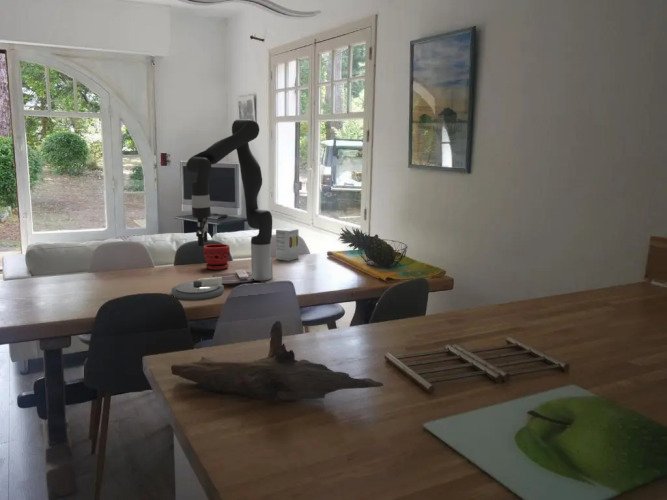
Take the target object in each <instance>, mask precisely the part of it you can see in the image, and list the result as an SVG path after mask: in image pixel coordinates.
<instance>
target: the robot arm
mask: <svg viewBox="0 0 667 500" xmlns="http://www.w3.org/2000/svg"><path fill="white" fill-rule="evenodd" d="M231 133H232V134H231V135H230V136H226V137H224V138H222V139H220V140H218V141H216V142H214V143H213V144H212V145H210V146H209V147H208V148H206V149H205V150H203V151H200V152H198V153H196V154H194V155H192V156H191V157H190V158H189V159H188V160H187V161H186V166H185V168H186V170H187V172H188V173H189V174H191V175H197V177H196V180H193V181H192V182H191V184H190V187H191V188H190V189H191V212H192V213H191V215H192V218H193V219H197V221H195V233H196V234H195V236H196V237H197V244H198V247H204V246H205V243H208V233H209V222H208V220H209V219H208V218H210V217H211V215H212V214H211V211H212V210H211V198H210V188H209V184H210V180H211V176H212V170H213V169H212V165H215V164H218V163H219V162H221V161H222V160H223V159H224V158H226V157H227V156H228V155H230V153H232V152H233V151H235V150H236V154H237V157H238V164H239V168H240V170H239V171H240V177H241V182H242V188H243V194H244V195H243V196H244V200H245V201H244V203H245V216H246V223H247V225H248V227H250V228H251V229H254V230H256V229H257V230H258V233H257V235H254V236H252V237H251V238H250V251H251V253H250V254H251V256H250V257H251V261H250V262H251V279H252V278H253V279H254V280H253V279H252V280H253V281H260V282H261V281H267V280H268V281H269V280H271V279H273V276H274V275H273V273H274V271H273V258H272V250H271V249H272V248H271V246H272V245H271V244H272V243H271V241H272V236H273V216H272V215H273V214H272V213H271V212H270V211H271V210H270V211H269V210H268V209H259V207H258V206H259V205H258V196H259V193H260V190H261V189H262V185H263V175H262V174H263V173H262V170H261V166H260V164H259V162H258V160H257V159H256V157H255V155H253V152H252V151H251V149H250V145H249V143H250V142H251V141H253V140H255V139H257V137H258V136H259V134H260V125H259V123H258V122H257V121H256V120H254V119H251V118H250V119H249V118H243V119H242V118H241V119H235V120H234V121H233V122H232V125H231Z"/></svg>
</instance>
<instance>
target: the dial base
mask: <svg viewBox="0 0 667 500" xmlns="http://www.w3.org/2000/svg"><path fill="white" fill-rule="evenodd" d="M176 286H177V285H175V286H174V287H172V288H171V296H172V295H173V296H175V297H176V298H175V297H174V298H175V299H179V300H186V301H188V300H189V301H197V300H209V299H212V298H217V297H220V296H222V295H223V294H224V292H225V291H224V290H225V289H224V287H225V285H223V284H222V285H219V288H218V289H217V290H215V291H212V292H207V293H198V294H188V293H181V292H178V291H177V290H176ZM173 296H172V297H173Z"/></svg>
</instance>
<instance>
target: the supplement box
mask: <svg viewBox="0 0 667 500" xmlns="http://www.w3.org/2000/svg"><path fill="white" fill-rule="evenodd" d="M275 259H276V260H280V261H287V262H290V261H294V260H297V259H299V229H298V228H292V227H291V228H290V227H283V228H278V229H275Z"/></svg>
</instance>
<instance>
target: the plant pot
mask: <svg viewBox="0 0 667 500" xmlns="http://www.w3.org/2000/svg"><path fill="white" fill-rule="evenodd" d="M230 248H231V247H230V245H229V244H225V243H213V244H206V245H204V246H203V256H204V260H205V262H206V264H205V267H206V268H207V270H208V269H209V270H215V271H216V270H217V271H219V270H225V269H227V268H229V265H230V264H229V263H228V262H229V259H230V251H231V250H230Z"/></svg>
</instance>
